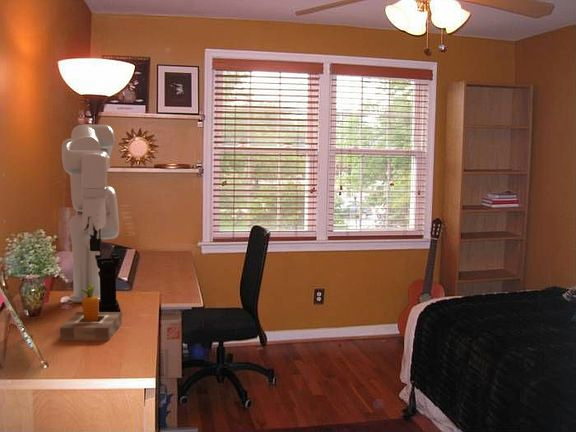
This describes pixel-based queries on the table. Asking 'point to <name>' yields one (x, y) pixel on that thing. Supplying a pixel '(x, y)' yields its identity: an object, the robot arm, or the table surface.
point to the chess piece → (108, 283)
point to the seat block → (91, 327)
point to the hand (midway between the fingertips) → (95, 250)
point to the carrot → (90, 305)
